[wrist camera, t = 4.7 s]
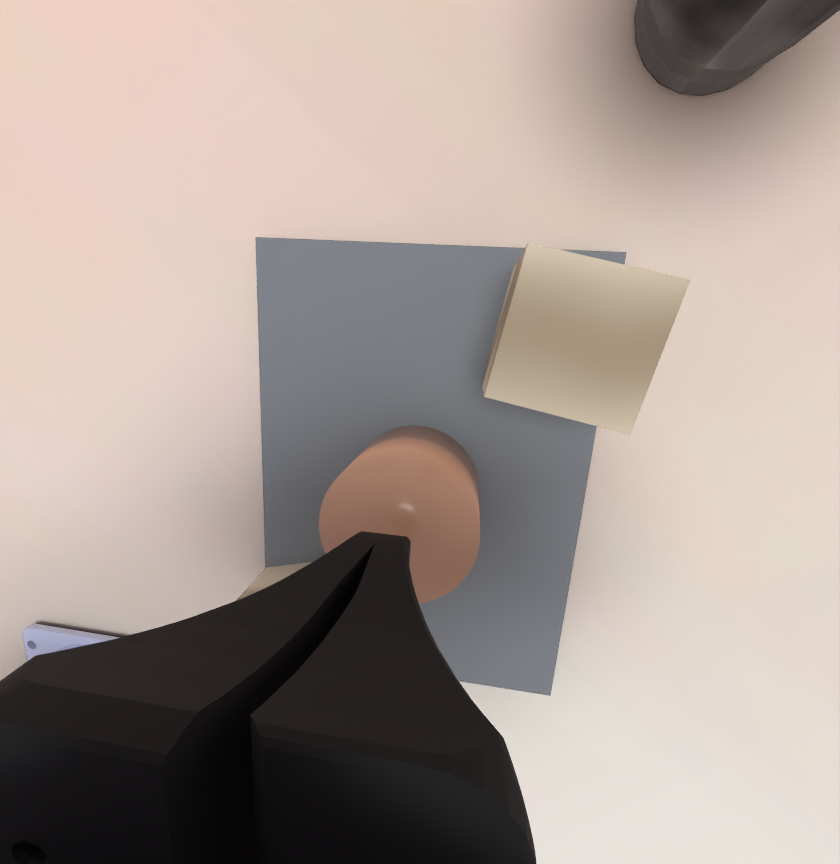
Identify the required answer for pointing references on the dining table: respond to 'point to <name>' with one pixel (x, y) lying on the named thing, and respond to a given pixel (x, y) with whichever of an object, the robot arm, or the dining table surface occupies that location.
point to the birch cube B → (580, 336)
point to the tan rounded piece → (411, 504)
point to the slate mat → (420, 406)
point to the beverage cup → (720, 38)
